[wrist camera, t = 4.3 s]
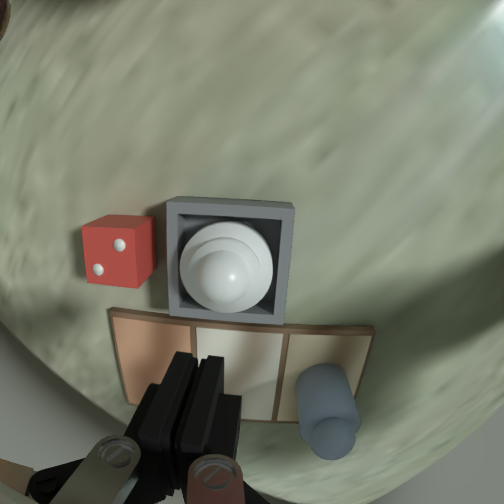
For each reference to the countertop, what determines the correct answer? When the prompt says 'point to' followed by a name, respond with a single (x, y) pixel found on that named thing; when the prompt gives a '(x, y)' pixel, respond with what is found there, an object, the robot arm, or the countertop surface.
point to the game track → (238, 356)
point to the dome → (227, 266)
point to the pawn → (327, 411)
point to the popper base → (247, 211)
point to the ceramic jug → (4, 16)
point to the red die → (120, 250)
